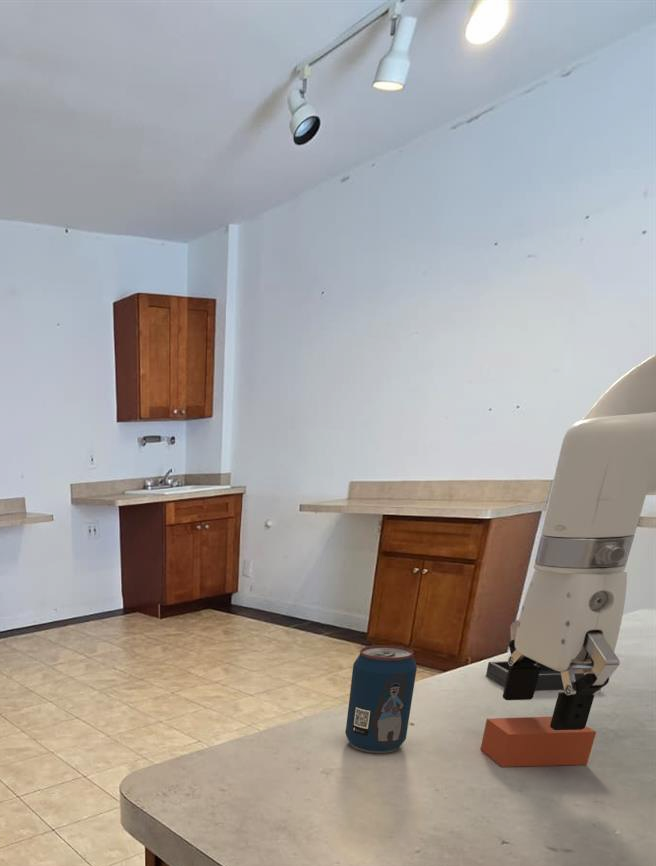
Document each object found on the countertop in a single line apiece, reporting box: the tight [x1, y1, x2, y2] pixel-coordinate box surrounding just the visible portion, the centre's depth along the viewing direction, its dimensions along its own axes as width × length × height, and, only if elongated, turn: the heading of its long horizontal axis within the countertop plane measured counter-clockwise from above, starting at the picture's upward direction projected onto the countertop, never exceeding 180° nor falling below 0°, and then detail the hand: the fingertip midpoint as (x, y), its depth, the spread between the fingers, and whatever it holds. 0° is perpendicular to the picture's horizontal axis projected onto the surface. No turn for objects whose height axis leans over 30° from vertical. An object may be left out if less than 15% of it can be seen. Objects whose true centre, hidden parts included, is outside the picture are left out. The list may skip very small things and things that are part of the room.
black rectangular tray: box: [485, 660, 584, 691], centre depth 96 cm, size 12×8×2 cm, turn 85°
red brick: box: [480, 716, 597, 768], centre depth 73 cm, size 9×5×4 cm, turn 85°
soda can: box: [345, 644, 418, 754], centre depth 78 cm, size 7×7×12 cm
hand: (540, 713), depth 71 cm, fingers open, 9 cm apart
